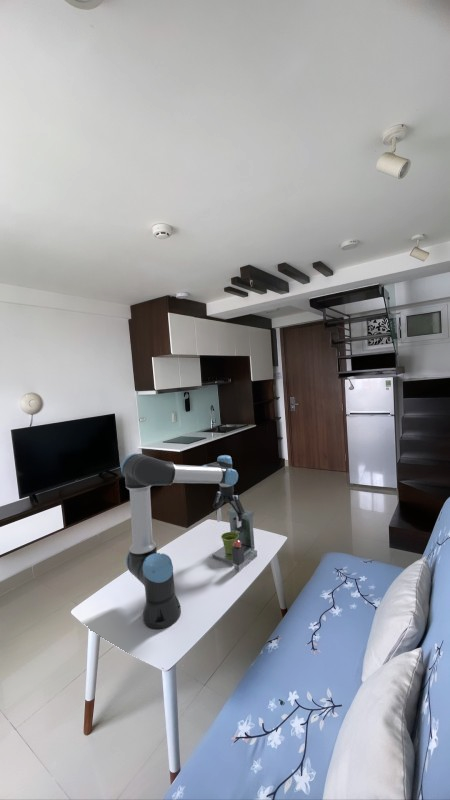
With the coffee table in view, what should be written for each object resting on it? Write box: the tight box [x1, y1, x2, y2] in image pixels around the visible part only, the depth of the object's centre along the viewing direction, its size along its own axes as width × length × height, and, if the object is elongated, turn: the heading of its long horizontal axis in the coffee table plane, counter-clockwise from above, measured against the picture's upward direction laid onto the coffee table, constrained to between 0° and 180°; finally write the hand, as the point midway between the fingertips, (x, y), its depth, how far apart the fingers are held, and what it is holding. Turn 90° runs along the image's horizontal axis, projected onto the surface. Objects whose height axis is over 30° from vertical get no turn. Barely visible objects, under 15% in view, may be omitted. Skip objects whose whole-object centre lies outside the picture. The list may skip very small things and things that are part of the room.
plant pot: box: [220, 531, 239, 554], centre depth 172 cm, size 9×9×9 cm
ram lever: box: [232, 540, 244, 565], centre depth 159 cm, size 4×4×11 cm
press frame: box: [211, 507, 258, 572], centre depth 171 cm, size 23×20×20 cm
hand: (229, 523), depth 172 cm, fingers open, 13 cm apart
